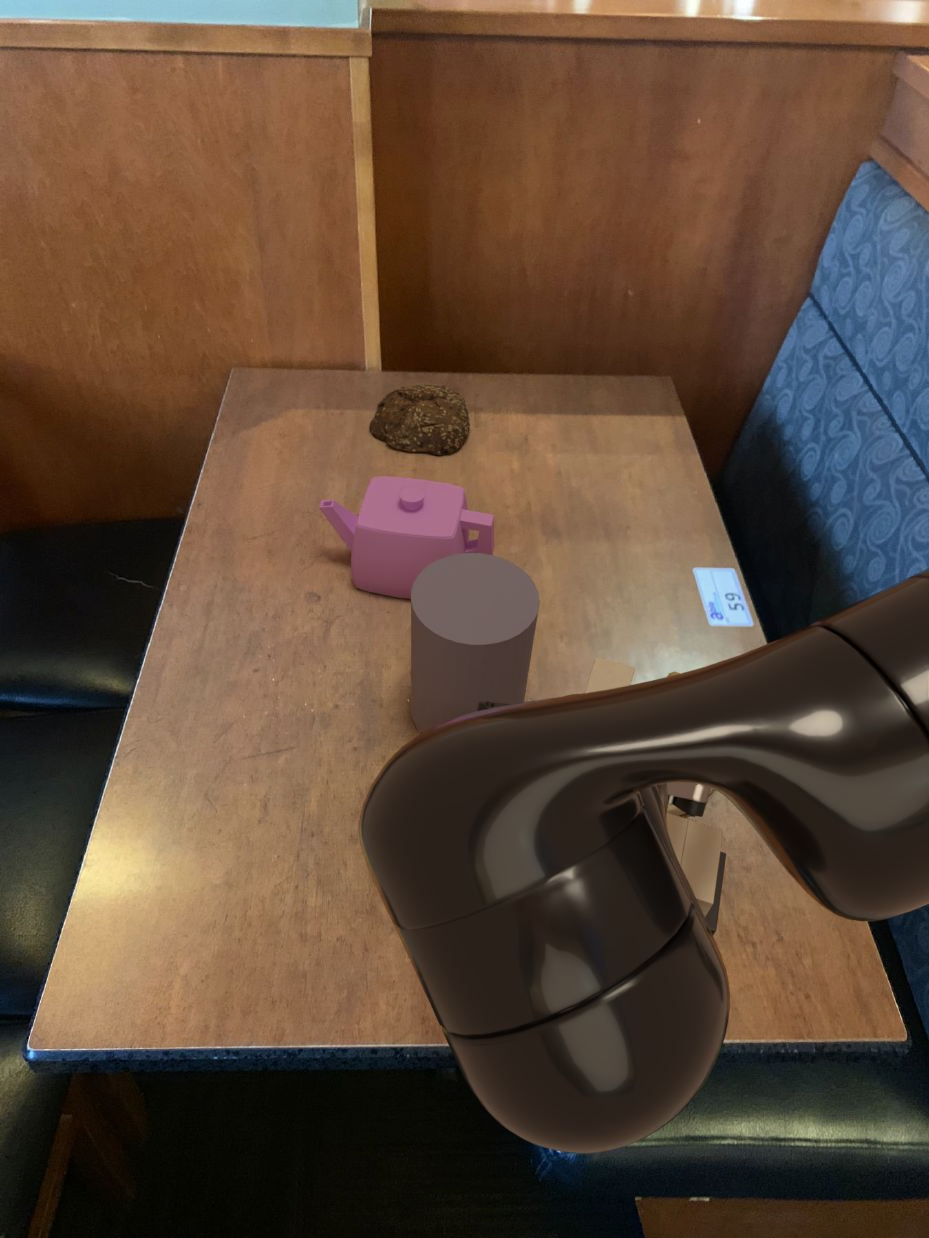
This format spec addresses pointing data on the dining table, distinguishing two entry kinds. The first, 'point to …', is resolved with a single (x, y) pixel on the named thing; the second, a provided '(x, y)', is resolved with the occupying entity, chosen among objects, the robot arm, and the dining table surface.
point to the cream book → (609, 675)
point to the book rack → (700, 862)
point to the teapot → (406, 531)
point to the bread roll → (422, 419)
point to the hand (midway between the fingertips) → (594, 734)
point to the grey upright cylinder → (469, 636)
